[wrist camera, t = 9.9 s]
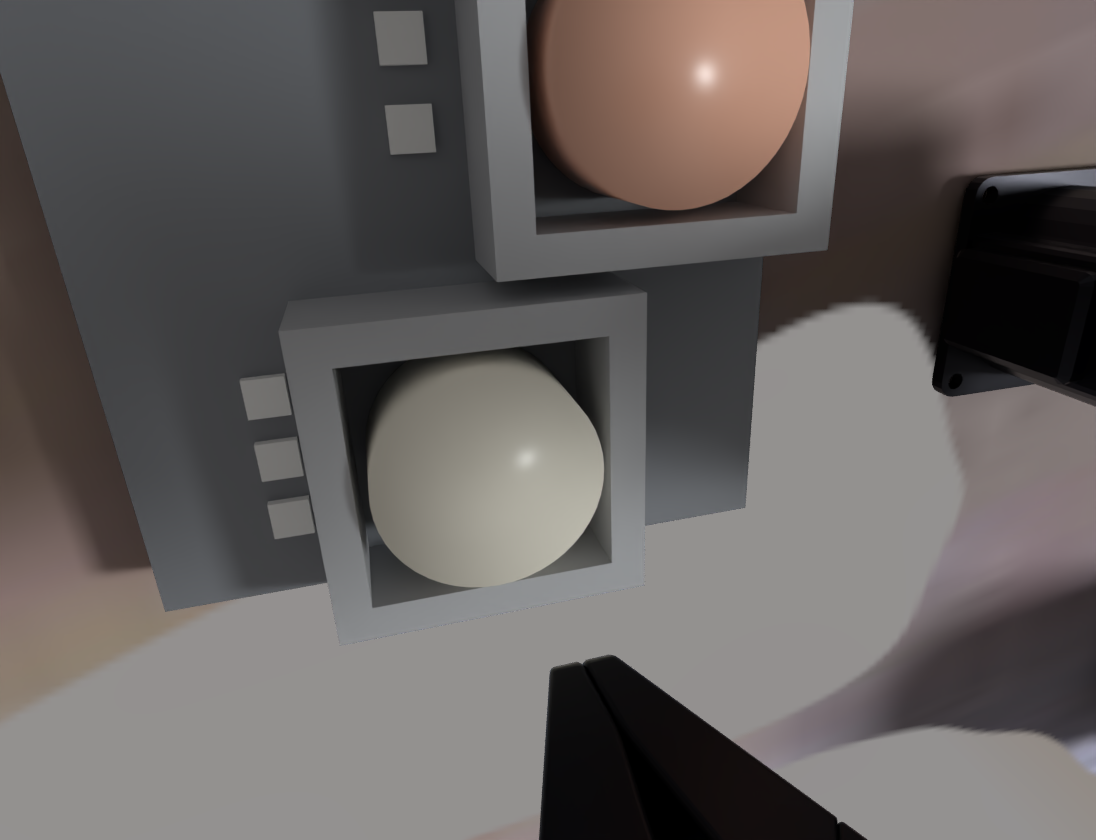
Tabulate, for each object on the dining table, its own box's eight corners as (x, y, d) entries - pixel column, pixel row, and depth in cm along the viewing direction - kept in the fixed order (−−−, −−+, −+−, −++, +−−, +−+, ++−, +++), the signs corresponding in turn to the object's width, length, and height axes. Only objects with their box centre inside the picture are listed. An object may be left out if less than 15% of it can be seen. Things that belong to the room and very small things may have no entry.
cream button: (567, 327, 16) (602, 358, 14) (573, 510, 18) (605, 565, 16) (350, 351, 15) (351, 390, 13) (380, 544, 17) (385, 607, 15)
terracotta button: (748, -62, 14) (823, -97, 12) (735, 190, 16) (796, 201, 14) (512, -65, 13) (545, -103, 11) (526, 206, 15) (557, 219, 13)
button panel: (762, -501, 14) (934, -761, 10) (712, 476, 22) (795, 555, 18) (-163, -643, 11) (-481, -1122, 6) (182, 565, 19) (137, 686, 15)
